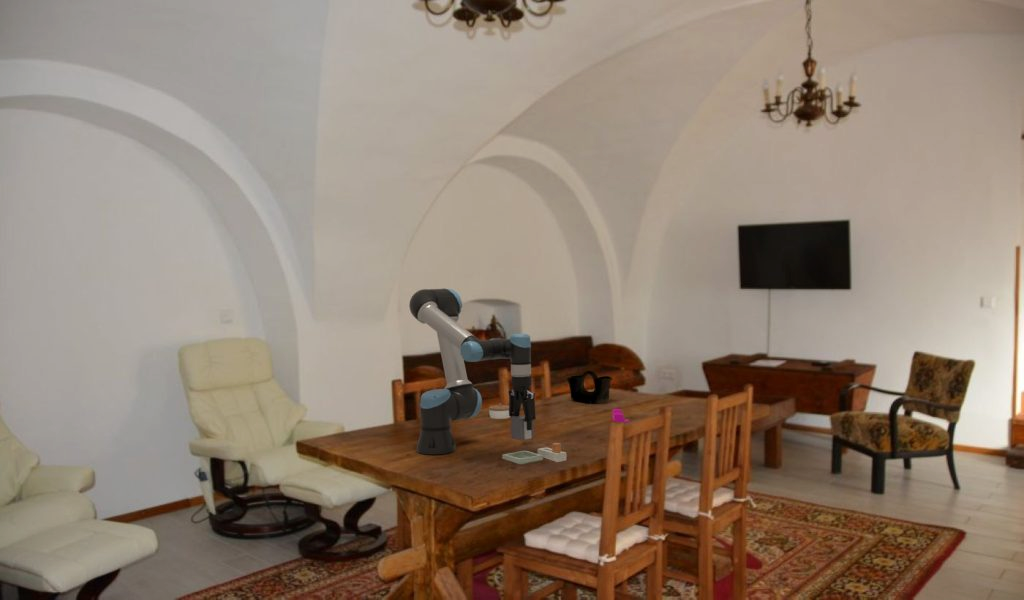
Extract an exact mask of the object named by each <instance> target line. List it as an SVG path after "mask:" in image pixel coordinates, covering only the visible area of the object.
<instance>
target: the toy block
mask: <svg viewBox="0 0 1024 600" xmlns="http://www.w3.org/2000/svg"><path fill="white" fill-rule="evenodd" d="M612 421H616V422H629V423H630V420H629V419H624V413H622V409H621V408H613V409H612Z"/></svg>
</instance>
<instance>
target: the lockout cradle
mask: <svg viewBox="0 0 1024 600" xmlns="http://www.w3.org/2000/svg"><path fill="white" fill-rule="evenodd" d="M501 459H503V460H505V461H509V462H511V463H512V464H513V463H514V464H515V465H520V466H521V465H524V464H525V465H526V464H531V463H535V462H541V461H543V460H544V458H543V455H540V454H538V453H535V452H532V451H528V450H520V451H515V452H509V453H503V454H502V455H501Z"/></svg>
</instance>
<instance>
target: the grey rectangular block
mask: <svg viewBox="0 0 1024 600" xmlns="http://www.w3.org/2000/svg"><path fill="white" fill-rule="evenodd" d="M524 420H525V415H524V414H522V415H521V414H519V416H512V417H510V431H511V432H510V435H511V437H510V438H511V439H512V440H513V439H514V440H518V441H524V440H528V439H524ZM534 421H535V420H532V430H531V439H530V440H533V439H534V438H535V435H534V433H535V432H534V431H535V430H534V425H535V424H534Z"/></svg>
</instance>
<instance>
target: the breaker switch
mask: <svg viewBox="0 0 1024 600" xmlns="http://www.w3.org/2000/svg"><path fill="white" fill-rule="evenodd" d="M551 449H552V452H555V453H558V452H561V451H562V444H561V443H560V442H554V443H551Z"/></svg>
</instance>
